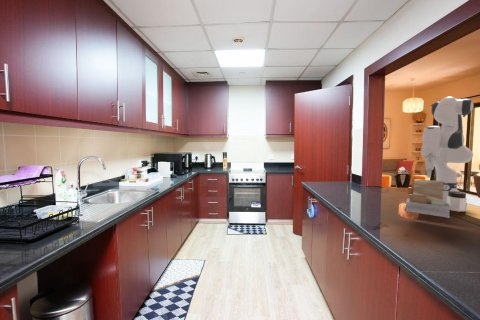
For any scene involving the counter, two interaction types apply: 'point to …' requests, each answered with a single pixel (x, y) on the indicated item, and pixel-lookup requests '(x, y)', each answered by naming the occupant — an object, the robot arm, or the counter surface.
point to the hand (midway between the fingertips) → (428, 176)
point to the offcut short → (438, 203)
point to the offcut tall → (417, 198)
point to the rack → (428, 208)
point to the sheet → (429, 189)
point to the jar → (456, 201)
